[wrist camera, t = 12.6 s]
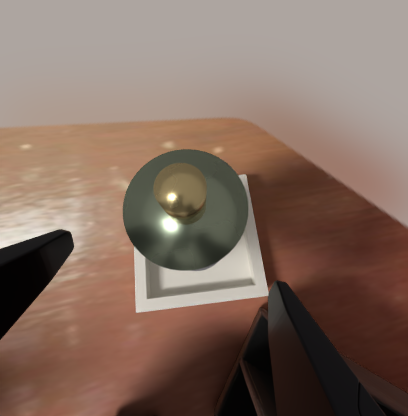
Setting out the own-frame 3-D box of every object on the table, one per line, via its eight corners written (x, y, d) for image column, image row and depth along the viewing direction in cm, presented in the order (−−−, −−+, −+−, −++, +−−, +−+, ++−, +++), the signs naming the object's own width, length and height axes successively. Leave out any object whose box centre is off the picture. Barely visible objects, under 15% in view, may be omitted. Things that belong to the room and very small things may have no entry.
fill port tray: (262, 291, 20) (268, 295, 18) (143, 307, 20) (135, 312, 17) (242, 182, 23) (246, 174, 21) (139, 193, 23) (132, 186, 21)
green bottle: (203, 274, 20) (204, 313, 5) (163, 246, 20) (60, 210, 6) (229, 232, 21) (292, 164, 6) (190, 207, 21) (162, 93, 7)
